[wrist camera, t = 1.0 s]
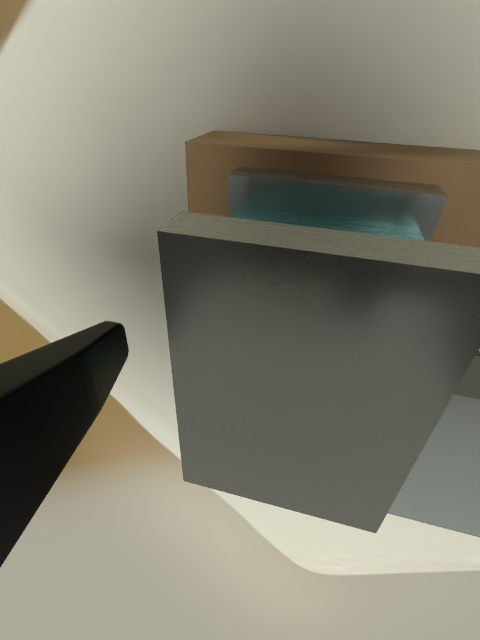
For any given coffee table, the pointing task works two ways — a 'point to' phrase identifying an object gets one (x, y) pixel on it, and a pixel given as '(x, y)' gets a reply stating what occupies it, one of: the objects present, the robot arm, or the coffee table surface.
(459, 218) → the stand
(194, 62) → the coffee table surface
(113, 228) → the coffee table surface
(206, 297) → the housing
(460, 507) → the stand
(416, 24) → the coffee table surface
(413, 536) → the coffee table surface
